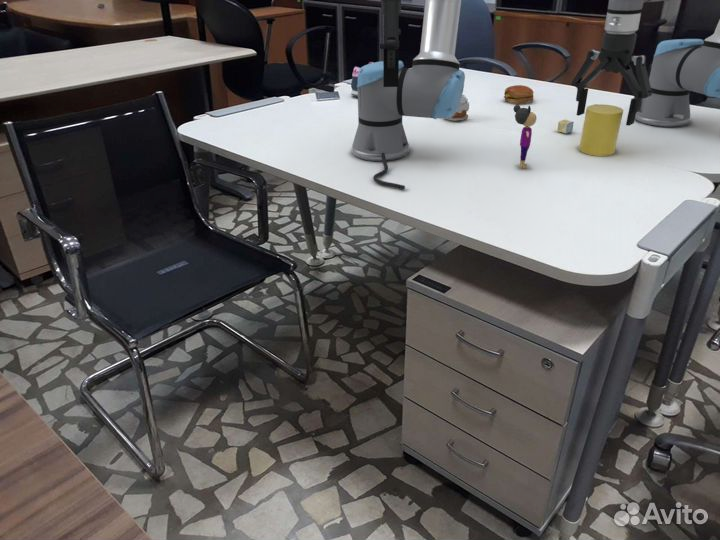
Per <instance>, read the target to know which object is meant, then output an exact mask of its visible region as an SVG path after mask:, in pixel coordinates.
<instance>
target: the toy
mask: <svg viewBox="0 0 720 540" xmlns="http://www.w3.org/2000/svg"><path fill="white" fill-rule="evenodd" d="M512 110H513V113H514V119H515V121H516V123H517V124H519V125H522V126H523V128H522V129H521V133H520V139H519V140H520V141H519V146H520V156H519V158H520V160H519V167H520V169H528V163H526V160H527V155H528V151H529V149H530V147H531V142H532V134H533V130H532V126H534V125H535V124H536V123H537V115H536V113H534V112H532V108H531V105H528V106H527V107H521V106H520V104H516V105H515V104H514V106H513V109H512Z"/></svg>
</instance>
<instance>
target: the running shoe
mask: <svg viewBox="0 0 720 540" xmlns="http://www.w3.org/2000/svg"><path fill="white" fill-rule="evenodd" d="M371 63H374V62H373V61H369V62H368V64H371ZM360 68H361V67H359V66H354V67H353V71H352V77H351V82H350V86H351V96H353V97H357V98H358V90H357V84H358V71H359V69H360Z"/></svg>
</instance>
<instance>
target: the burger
mask: <svg viewBox="0 0 720 540" xmlns="http://www.w3.org/2000/svg"><path fill="white" fill-rule="evenodd" d="M503 98H504V100H505V101H507V103H509V104H514V105H515V104H516V105H521V104H525V103H531V102H534V90H533V89H532V88H531V87H530V86H527V85H523V84H520V85H519V84H517V85H511V86H510V85H509V86H508V87H506V88H505V89H504V96H503Z"/></svg>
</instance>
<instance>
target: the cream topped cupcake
mask: <svg viewBox="0 0 720 540" xmlns="http://www.w3.org/2000/svg"><path fill="white" fill-rule="evenodd" d="M469 109H470V102H469V99H468V98H467V96H465V94H462V97H461V101H460V104H459V107H458V109H457V111H456V113H455V114H454V116H452V117H451V118H448V119H447V120H449V121H456V122H458V121H463V120H466V119H469V114H468V112H469Z"/></svg>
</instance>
